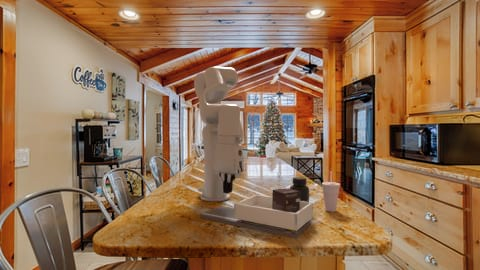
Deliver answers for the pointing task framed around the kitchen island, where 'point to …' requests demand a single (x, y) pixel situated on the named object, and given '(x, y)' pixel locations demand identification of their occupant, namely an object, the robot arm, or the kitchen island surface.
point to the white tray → (272, 213)
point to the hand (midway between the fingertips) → (227, 192)
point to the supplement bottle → (301, 188)
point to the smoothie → (330, 194)
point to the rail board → (227, 216)
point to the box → (286, 200)
